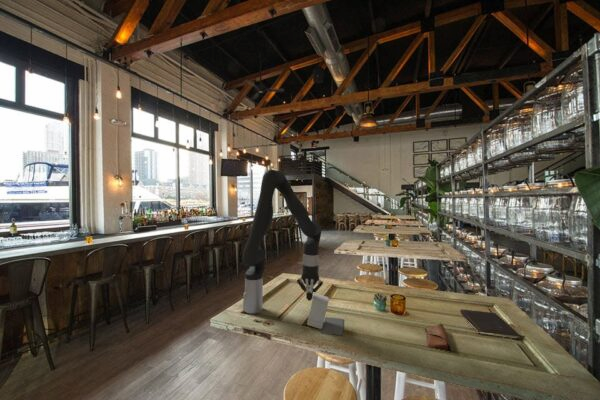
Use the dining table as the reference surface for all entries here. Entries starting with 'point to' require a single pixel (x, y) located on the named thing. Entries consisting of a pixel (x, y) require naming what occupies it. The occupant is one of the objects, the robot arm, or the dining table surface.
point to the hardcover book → (489, 323)
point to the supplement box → (318, 311)
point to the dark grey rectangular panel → (333, 326)
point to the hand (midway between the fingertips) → (309, 299)
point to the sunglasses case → (437, 338)
